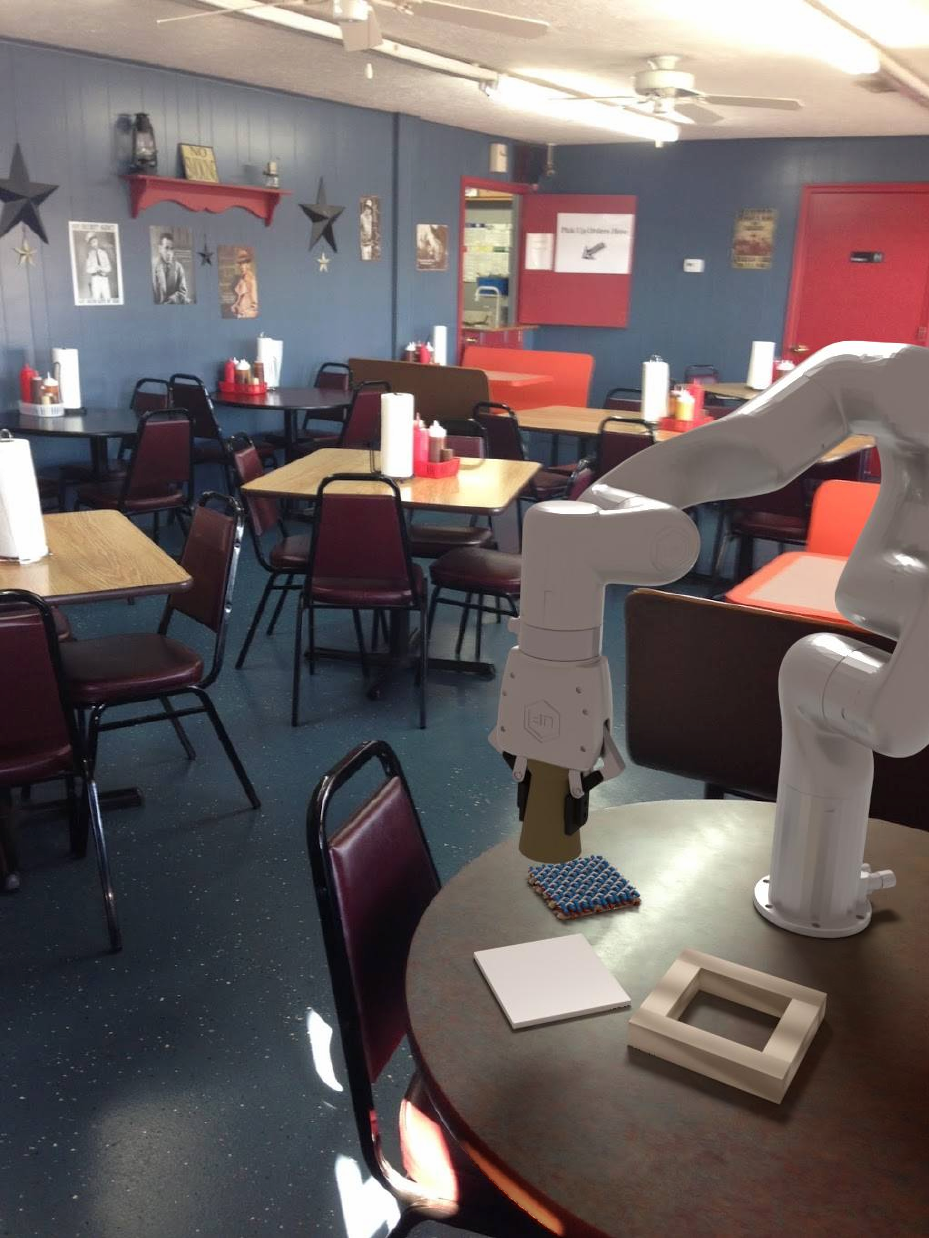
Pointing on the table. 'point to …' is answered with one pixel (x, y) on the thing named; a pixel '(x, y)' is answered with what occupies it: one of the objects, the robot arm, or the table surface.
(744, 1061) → the wooden holder
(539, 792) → the cork
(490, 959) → the ceramic tile
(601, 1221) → the table surface
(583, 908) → the woven mat
